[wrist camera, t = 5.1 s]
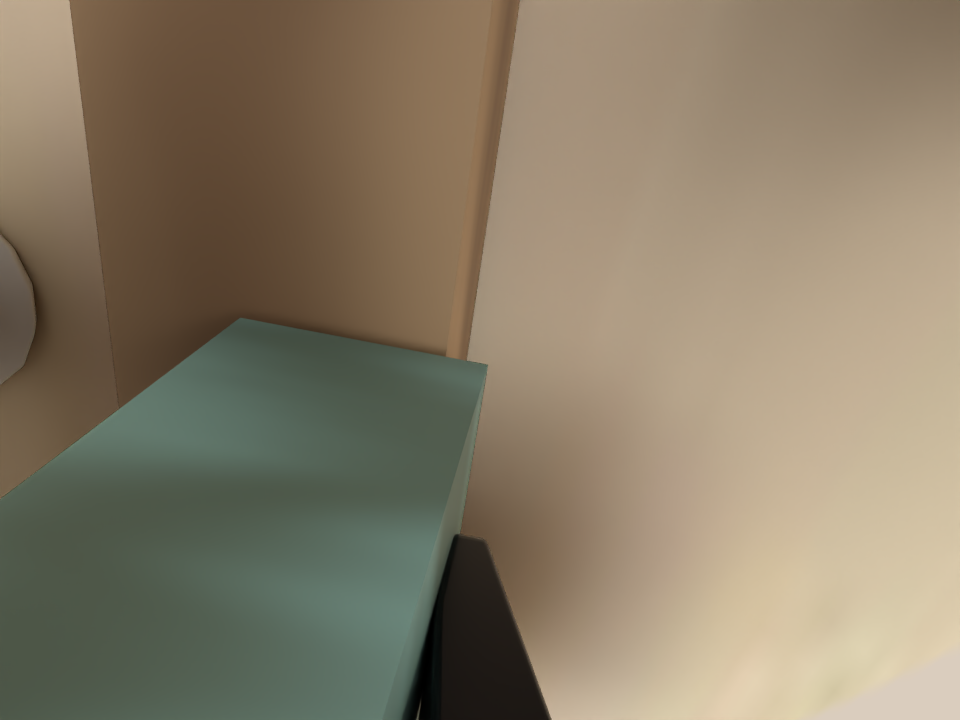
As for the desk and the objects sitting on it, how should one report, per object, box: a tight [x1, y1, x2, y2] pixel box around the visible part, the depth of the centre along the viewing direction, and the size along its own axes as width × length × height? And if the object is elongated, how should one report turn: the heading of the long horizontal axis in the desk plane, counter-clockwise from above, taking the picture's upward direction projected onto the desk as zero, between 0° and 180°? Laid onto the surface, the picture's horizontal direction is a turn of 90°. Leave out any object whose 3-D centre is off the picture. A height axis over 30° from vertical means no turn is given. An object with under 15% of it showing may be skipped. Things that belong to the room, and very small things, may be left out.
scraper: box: [0, 0, 520, 720], centre depth 8 cm, size 5×14×9 cm, turn 171°
